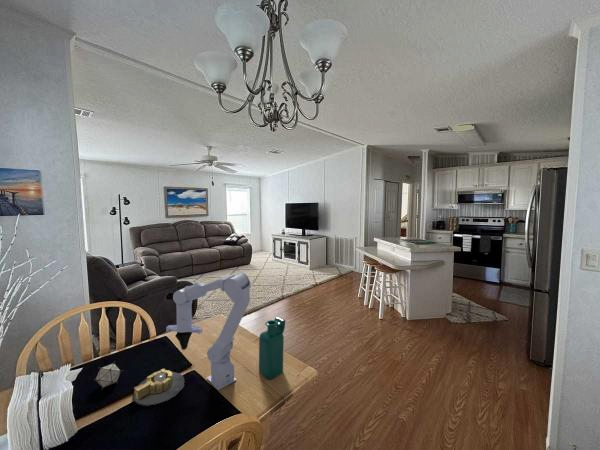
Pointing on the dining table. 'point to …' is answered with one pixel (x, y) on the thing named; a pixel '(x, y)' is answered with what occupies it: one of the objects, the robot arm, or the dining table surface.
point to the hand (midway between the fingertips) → (184, 348)
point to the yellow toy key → (155, 384)
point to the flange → (163, 396)
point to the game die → (108, 375)
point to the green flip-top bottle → (272, 349)
